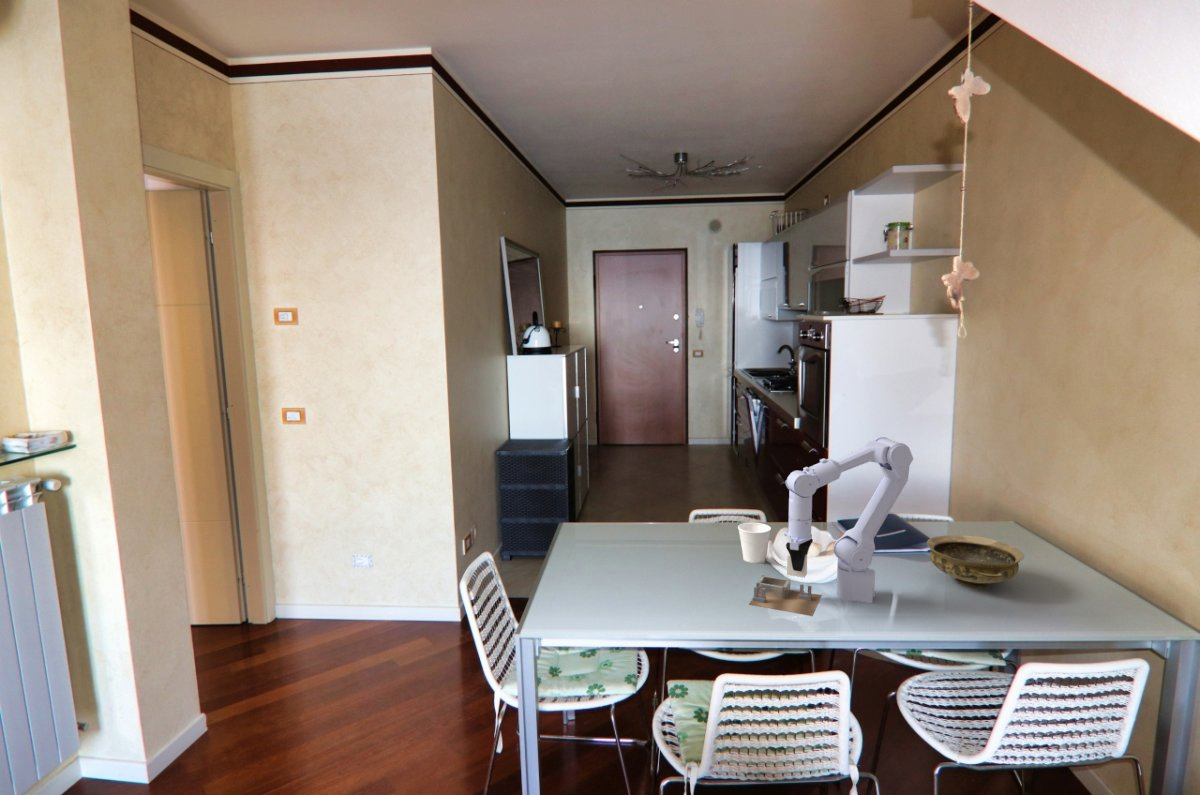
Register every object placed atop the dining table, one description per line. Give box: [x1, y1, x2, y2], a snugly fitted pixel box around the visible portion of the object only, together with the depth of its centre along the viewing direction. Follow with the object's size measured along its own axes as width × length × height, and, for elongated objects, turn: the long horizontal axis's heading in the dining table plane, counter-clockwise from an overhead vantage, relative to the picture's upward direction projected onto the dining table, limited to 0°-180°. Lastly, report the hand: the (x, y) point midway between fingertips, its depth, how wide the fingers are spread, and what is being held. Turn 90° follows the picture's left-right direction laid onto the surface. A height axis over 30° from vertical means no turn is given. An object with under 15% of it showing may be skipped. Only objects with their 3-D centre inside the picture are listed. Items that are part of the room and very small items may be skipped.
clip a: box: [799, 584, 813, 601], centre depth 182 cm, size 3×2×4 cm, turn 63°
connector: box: [786, 553, 808, 579], centre depth 181 cm, size 4×3×6 cm, turn 63°
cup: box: [737, 522, 772, 564], centre depth 211 cm, size 10×10×11 cm
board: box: [748, 589, 823, 617], centre depth 182 cm, size 16×14×1 cm
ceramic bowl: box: [926, 534, 1025, 588], centre depth 193 cm, size 30×24×10 cm
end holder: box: [755, 575, 792, 599], centre depth 187 cm, size 8×6×3 cm
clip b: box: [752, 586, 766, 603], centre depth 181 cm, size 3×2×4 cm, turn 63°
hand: (798, 568), depth 181 cm, fingers closed on connector, 3 cm apart
